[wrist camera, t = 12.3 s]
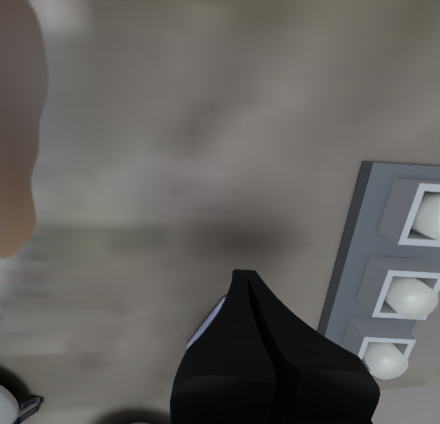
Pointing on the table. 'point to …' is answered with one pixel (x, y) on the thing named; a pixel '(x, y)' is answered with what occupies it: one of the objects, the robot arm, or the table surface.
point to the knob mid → (411, 297)
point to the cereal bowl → (140, 423)
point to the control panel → (380, 257)
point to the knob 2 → (428, 216)
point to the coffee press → (15, 407)
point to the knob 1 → (385, 360)
